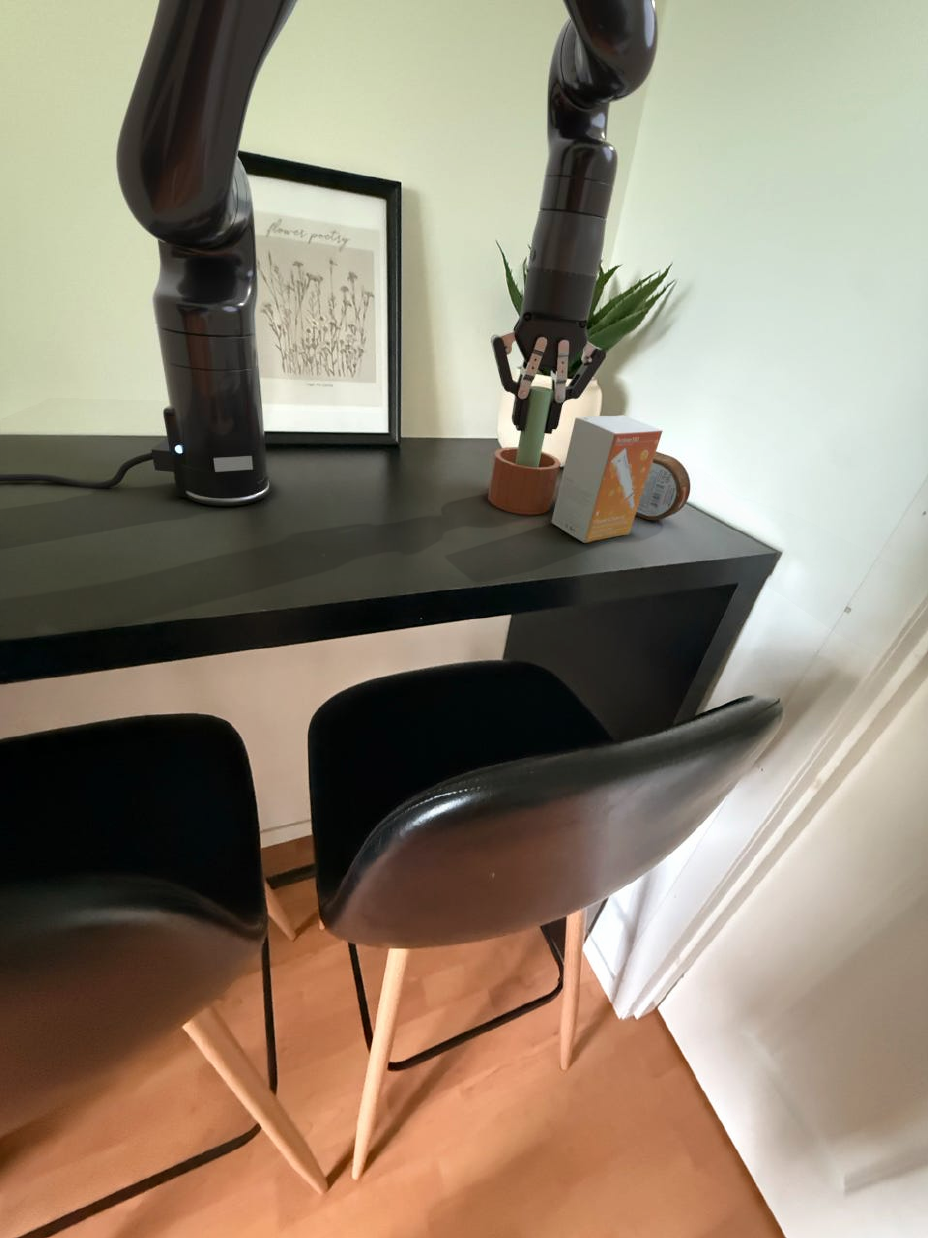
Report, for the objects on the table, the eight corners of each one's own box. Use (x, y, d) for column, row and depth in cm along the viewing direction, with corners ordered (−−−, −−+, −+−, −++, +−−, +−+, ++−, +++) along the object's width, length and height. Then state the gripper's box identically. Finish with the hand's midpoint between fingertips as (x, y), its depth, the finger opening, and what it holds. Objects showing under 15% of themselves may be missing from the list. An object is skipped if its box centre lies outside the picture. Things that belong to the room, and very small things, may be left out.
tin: (679, 525, 74) (701, 463, 69) (668, 531, 72) (691, 468, 67) (584, 488, 81) (599, 430, 77) (572, 492, 79) (587, 433, 75)
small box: (584, 545, 65) (614, 432, 58) (549, 523, 69) (573, 415, 62) (631, 535, 69) (664, 429, 62) (595, 514, 73) (623, 413, 66)
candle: (513, 488, 71) (530, 390, 64) (510, 480, 74) (526, 384, 67) (536, 490, 71) (555, 392, 65) (532, 482, 74) (550, 387, 67)
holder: (491, 511, 70) (499, 465, 67) (485, 487, 77) (491, 444, 73) (556, 517, 71) (566, 471, 68) (543, 492, 78) (552, 450, 74)
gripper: (615, 274, 63) (580, 428, 73) (494, 257, 61) (474, 416, 71) (637, 277, 57) (595, 445, 66) (503, 258, 55) (479, 433, 65)
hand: (533, 429), depth 69 cm, fingers closed on candle, 3 cm apart
